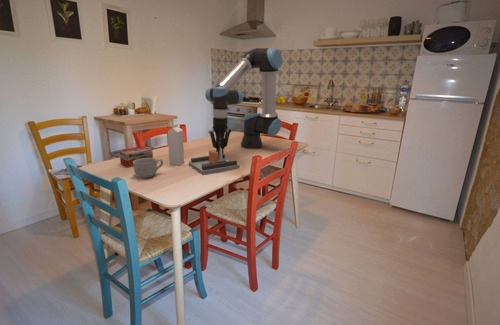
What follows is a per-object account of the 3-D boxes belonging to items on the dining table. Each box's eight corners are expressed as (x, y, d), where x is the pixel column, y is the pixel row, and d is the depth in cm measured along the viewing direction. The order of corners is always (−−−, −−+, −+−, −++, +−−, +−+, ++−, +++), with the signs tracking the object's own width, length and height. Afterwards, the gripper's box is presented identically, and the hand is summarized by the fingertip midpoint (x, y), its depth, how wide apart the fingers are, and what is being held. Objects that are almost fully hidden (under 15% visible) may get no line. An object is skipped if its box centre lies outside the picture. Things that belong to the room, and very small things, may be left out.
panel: (223, 159, 168) (223, 156, 168) (239, 168, 154) (239, 164, 154) (188, 165, 156) (188, 161, 156) (202, 175, 142) (202, 171, 142)
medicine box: (127, 168, 149) (126, 153, 146) (120, 164, 154) (118, 150, 151) (153, 162, 160) (152, 148, 157) (145, 158, 165) (144, 145, 162)
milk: (169, 164, 156) (166, 125, 149) (174, 161, 161) (172, 123, 154) (179, 166, 154) (177, 126, 147) (184, 162, 160) (182, 124, 153)
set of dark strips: (223, 157, 166) (223, 153, 166) (237, 164, 154) (237, 161, 153) (191, 161, 156) (191, 158, 155) (203, 170, 143) (203, 166, 142)
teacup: (134, 180, 132) (133, 164, 129) (133, 173, 141) (132, 157, 139) (165, 177, 137) (164, 161, 135) (162, 170, 147) (161, 155, 144)
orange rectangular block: (212, 161, 158) (212, 149, 156) (218, 164, 153) (218, 152, 151) (208, 161, 156) (208, 149, 154) (213, 164, 151) (213, 152, 149)
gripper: (227, 115, 155) (226, 156, 163) (205, 116, 148) (206, 159, 156) (234, 117, 150) (233, 159, 157) (212, 118, 142) (212, 163, 150)
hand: (219, 159), depth 156 cm, fingers closed
